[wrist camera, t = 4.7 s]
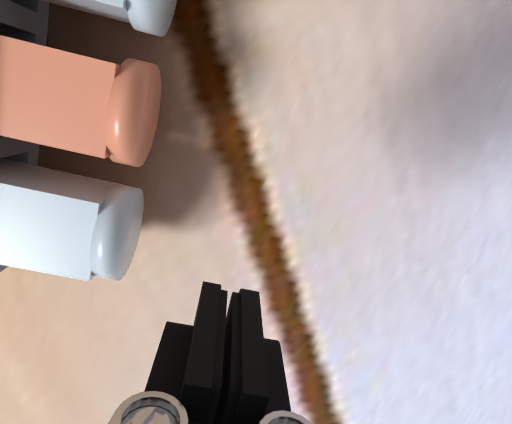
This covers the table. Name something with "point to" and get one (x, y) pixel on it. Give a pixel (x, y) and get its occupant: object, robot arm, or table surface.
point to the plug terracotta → (78, 101)
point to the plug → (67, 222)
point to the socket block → (30, 30)
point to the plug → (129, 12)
